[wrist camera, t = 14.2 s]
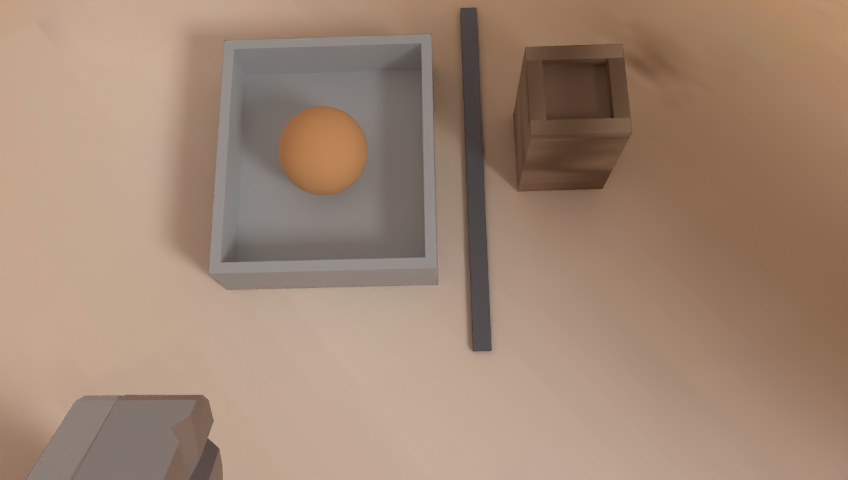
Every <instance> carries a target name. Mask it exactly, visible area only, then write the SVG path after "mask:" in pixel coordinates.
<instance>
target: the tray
mask: <svg viewBox="0 0 848 480" xmlns="http://www.w3.org/2000/svg"><path fill="white" fill-rule="evenodd" d="M317 106H327V107H333V108H337V109H339V110H341V111H343V112H345V113H347V114H348V115H350V116H351V117H352V118H353V119H354V120H355V121H356V122H357V123H358V124H359V126H360V127H361V129H362V131H363V133H364V135H365V138H366V142H367V150H368V151H367V161H366V164H365V167H364V170H363V172H362V174H361V175H360V177H359V178H358V179H357V180H356V181H355V183H353V184H352V185H351V186H350V187H348V188H347V189H345V190H343V191H341V192H339V193H335V194H331V195H317V194H312V193H309V192H306V191H304V190H302V189H300V188H299V187H297V186H296V185H295V184H293V183H292V181H291V180H290V179H289V178H288V177H287V176H286V174H285V172H284V170H283V168H282V166H281V163H280V159H279V151H278V148H279V140H280V137H281V134H282V132H283V130H284V128H285V126H286V125H287V123H288V122H289V121H290V120H291V119H292V118H293V117H294V116H295V115H297V114H298V113H300V112H301V111H303V110H306V109H308V108H312V107H317ZM209 275H211V276H212V277H213V278H214V279H215V280H216V281H217V282H219V283H220V284H221V285H222V286H223V287H224V288H225V289H227V290H235V289H275V288H316V287H357V286H397V285H438V276H437V235H436V193H435V152H434V110H433V69H432V40H431V34H414V35H382V36H351V37H319V38H288V39H256V40H224V51H223V66H222V81H221V96H220V111H219V125H218V140H217V155H216V170H215V185H214V200H213V215H212V230H211V245H210V260H209Z"/></svg>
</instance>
